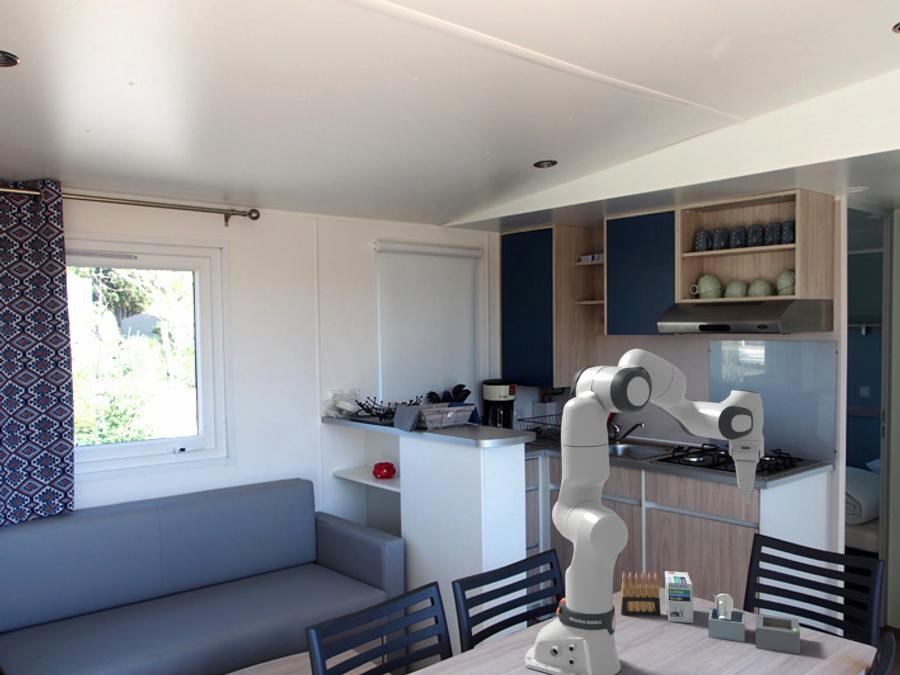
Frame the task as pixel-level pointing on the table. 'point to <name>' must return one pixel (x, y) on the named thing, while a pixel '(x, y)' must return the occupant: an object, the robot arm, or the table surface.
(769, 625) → the plain tan rectangular plate
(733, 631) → the bin
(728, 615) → the milkshake
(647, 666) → the table surface
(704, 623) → the table surface
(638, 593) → the ammunition clip
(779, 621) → the square frame
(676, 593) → the light bulb box
